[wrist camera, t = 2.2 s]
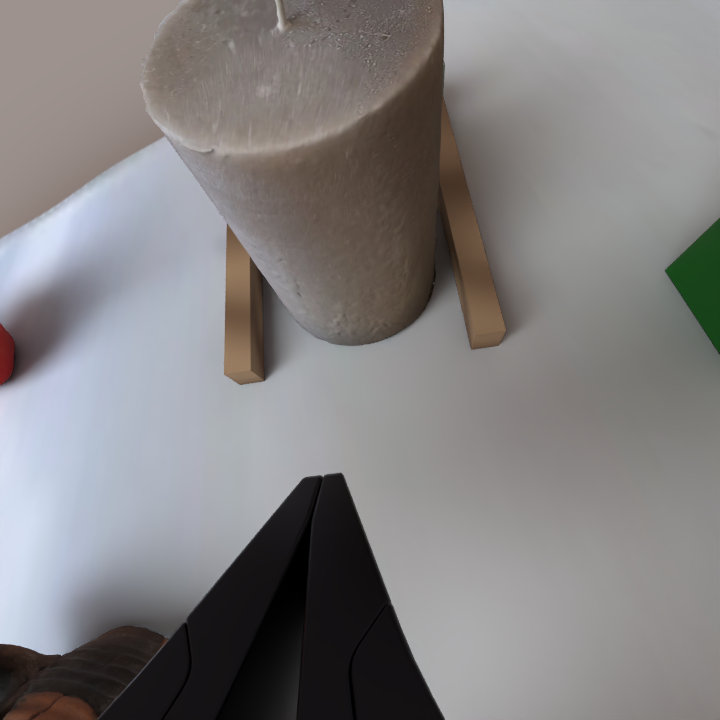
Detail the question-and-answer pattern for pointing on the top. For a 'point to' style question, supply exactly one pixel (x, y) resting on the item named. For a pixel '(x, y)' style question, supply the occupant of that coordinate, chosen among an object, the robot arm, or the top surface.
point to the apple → (6, 354)
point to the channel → (463, 249)
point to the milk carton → (701, 280)
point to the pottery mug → (73, 676)
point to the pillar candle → (314, 146)
